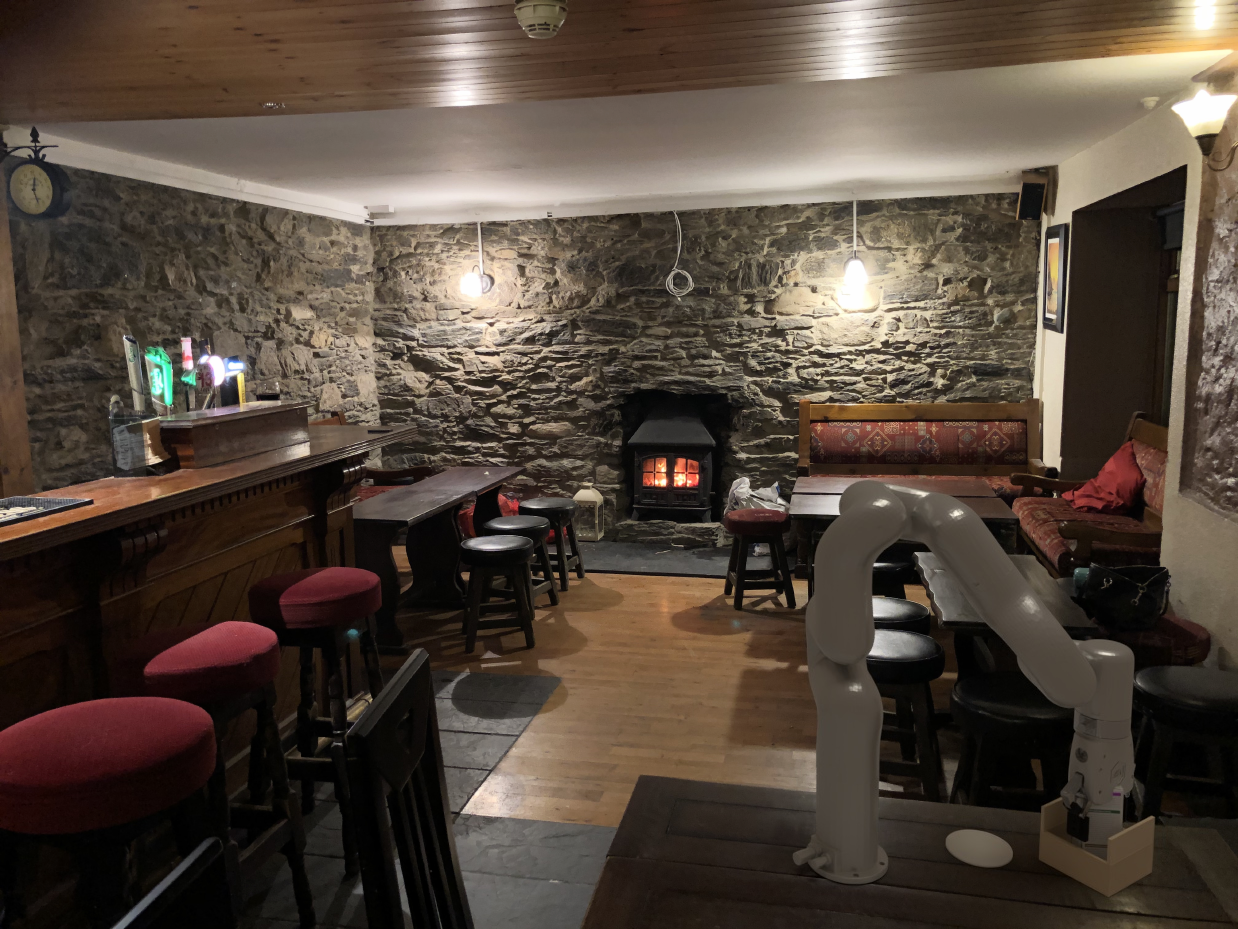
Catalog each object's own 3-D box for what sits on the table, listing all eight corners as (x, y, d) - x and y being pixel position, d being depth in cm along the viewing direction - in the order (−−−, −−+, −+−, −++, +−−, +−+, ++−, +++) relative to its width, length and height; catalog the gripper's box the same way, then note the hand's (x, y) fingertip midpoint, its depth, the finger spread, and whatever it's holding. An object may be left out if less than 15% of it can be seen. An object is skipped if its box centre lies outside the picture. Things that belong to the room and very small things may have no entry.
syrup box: (1121, 879, 134) (1126, 789, 132) (1079, 875, 135) (1083, 786, 133) (1109, 857, 139) (1113, 770, 137) (1068, 853, 140) (1072, 767, 138)
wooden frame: (1108, 897, 130) (1111, 840, 128) (1038, 859, 139) (1041, 806, 138) (1151, 872, 135) (1155, 817, 134) (1082, 837, 145) (1084, 786, 143)
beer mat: (984, 875, 136) (985, 872, 136) (932, 844, 144) (932, 841, 144) (1026, 854, 141) (1026, 852, 141) (973, 825, 149) (973, 823, 149)
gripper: (1091, 747, 126) (1085, 858, 129) (1159, 717, 135) (1153, 822, 137) (1043, 727, 133) (1039, 833, 135) (1111, 701, 141) (1106, 801, 144)
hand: (1096, 828), depth 136 cm, fingers open, 9 cm apart
